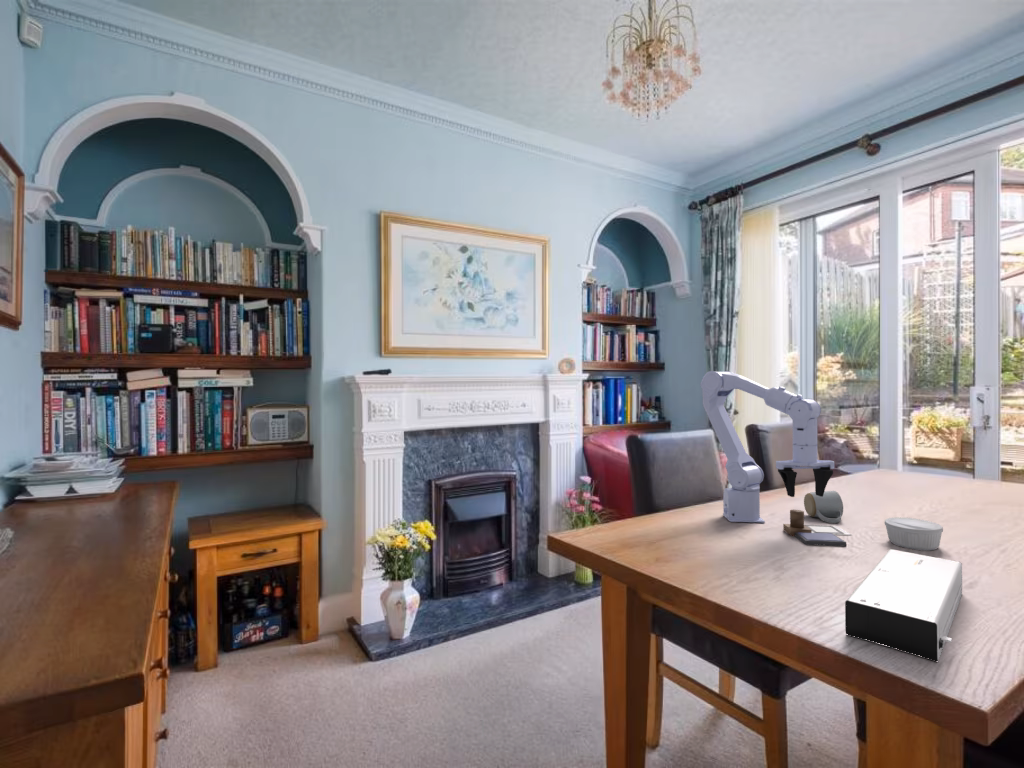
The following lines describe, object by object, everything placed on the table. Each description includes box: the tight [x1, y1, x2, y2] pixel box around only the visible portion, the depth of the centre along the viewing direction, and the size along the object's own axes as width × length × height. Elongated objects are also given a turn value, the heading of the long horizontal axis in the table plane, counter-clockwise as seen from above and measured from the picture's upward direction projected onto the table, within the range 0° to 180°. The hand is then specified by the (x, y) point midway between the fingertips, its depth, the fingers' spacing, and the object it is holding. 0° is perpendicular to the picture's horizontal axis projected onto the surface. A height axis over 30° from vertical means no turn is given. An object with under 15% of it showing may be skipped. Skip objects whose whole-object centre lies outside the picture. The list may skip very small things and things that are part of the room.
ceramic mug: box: [803, 490, 844, 524], centre depth 148 cm, size 11×8×8 cm
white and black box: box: [844, 548, 963, 662], centre depth 88 cm, size 34×12×6 cm, turn 134°
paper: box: [804, 524, 852, 536], centre depth 136 cm, size 10×8×1 cm
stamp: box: [782, 509, 812, 537], centre depth 134 cm, size 5×5×6 cm
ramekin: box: [884, 516, 944, 551], centre depth 124 cm, size 11×11×5 cm
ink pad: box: [794, 532, 847, 547], centre depth 127 cm, size 9×7×1 cm
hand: (805, 496), depth 135 cm, fingers open, 7 cm apart
